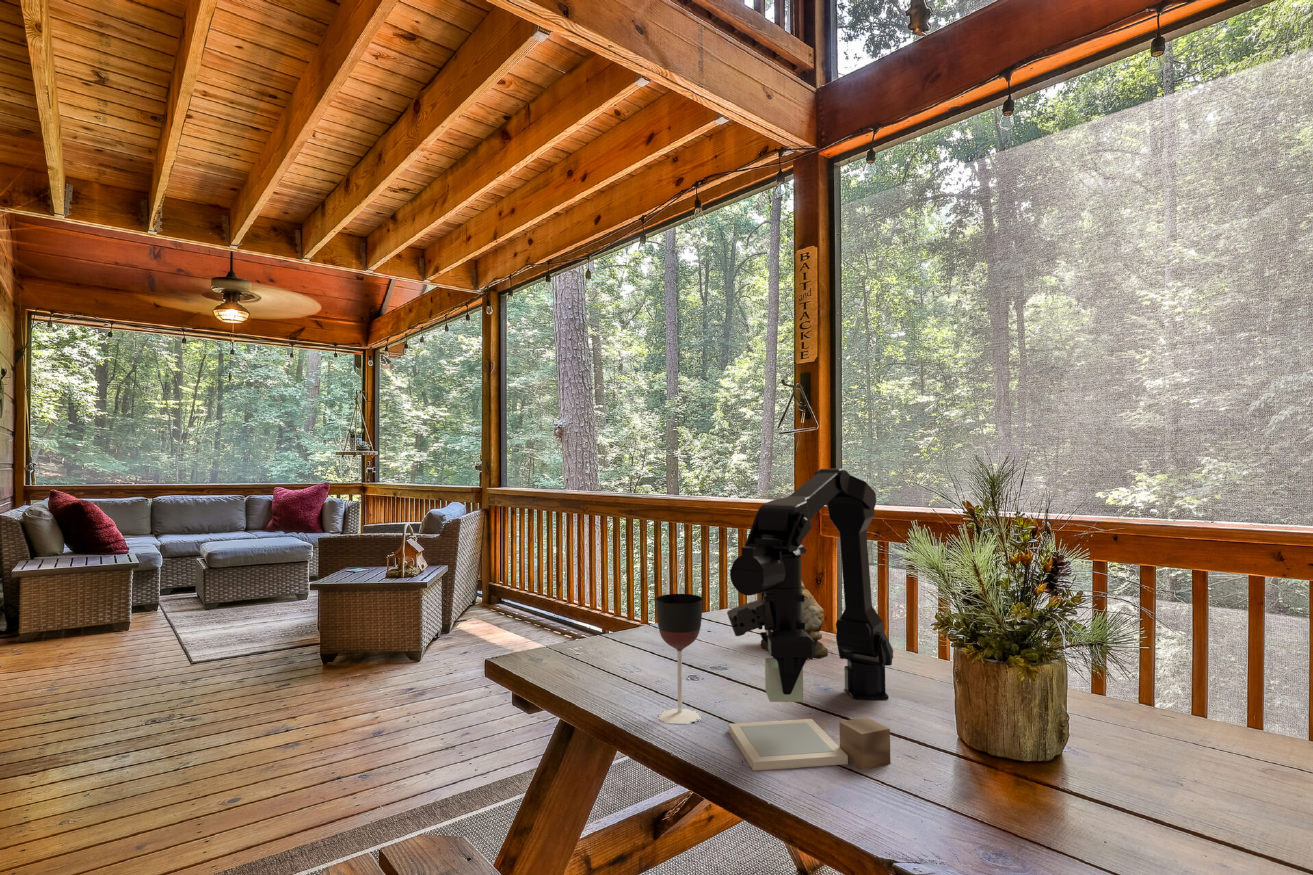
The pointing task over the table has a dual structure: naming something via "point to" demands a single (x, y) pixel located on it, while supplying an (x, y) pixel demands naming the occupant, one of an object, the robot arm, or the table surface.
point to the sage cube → (775, 687)
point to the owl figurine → (810, 623)
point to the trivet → (786, 744)
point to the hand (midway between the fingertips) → (784, 688)
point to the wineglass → (679, 639)
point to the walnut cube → (865, 742)
